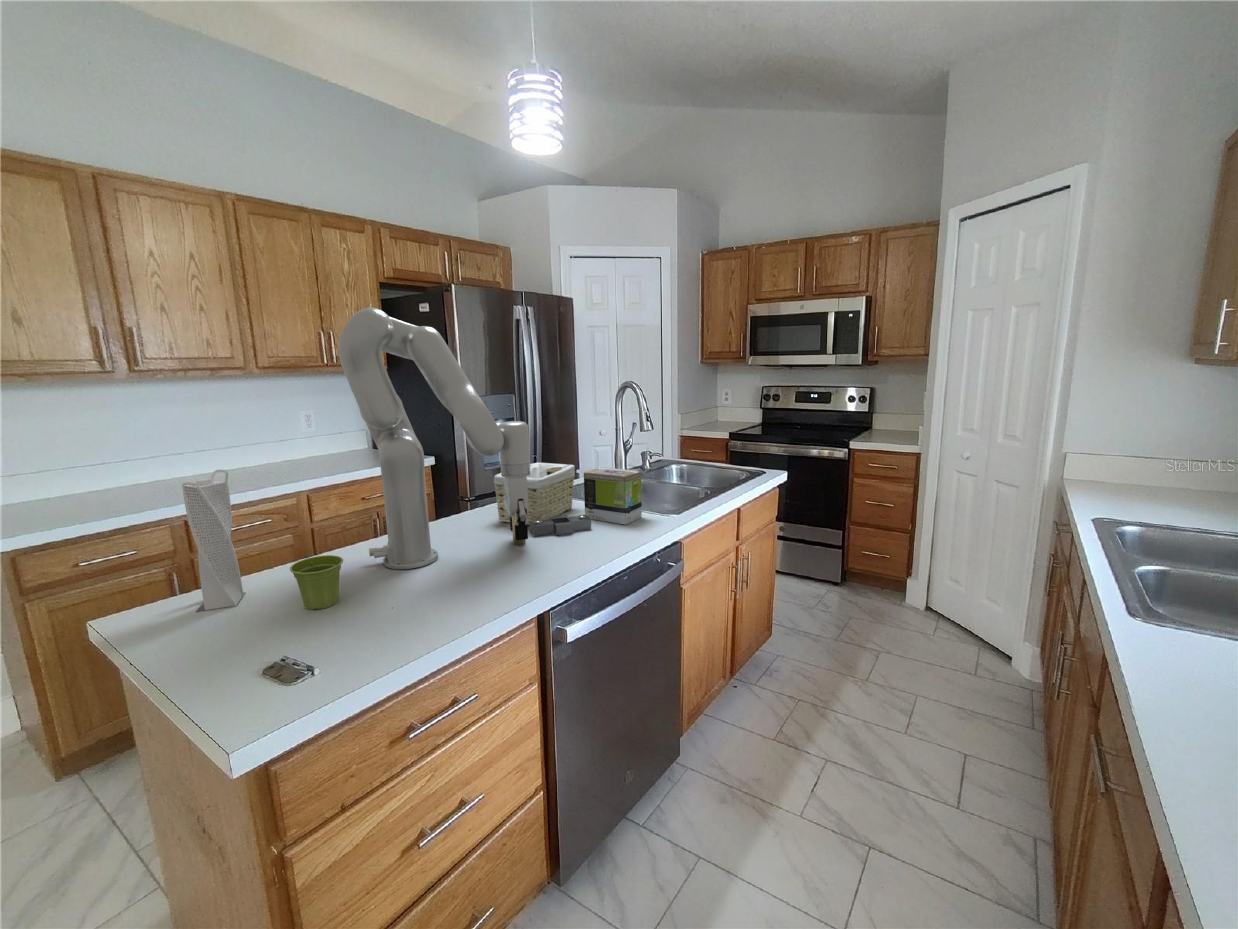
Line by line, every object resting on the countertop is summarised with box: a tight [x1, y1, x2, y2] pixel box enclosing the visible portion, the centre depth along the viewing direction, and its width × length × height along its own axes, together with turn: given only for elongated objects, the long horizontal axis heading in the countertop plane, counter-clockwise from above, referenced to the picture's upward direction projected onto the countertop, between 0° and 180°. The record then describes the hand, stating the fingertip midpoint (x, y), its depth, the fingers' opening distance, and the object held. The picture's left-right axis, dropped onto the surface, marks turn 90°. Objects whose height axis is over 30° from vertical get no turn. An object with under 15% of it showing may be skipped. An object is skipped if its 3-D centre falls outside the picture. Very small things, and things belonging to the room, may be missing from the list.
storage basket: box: [493, 462, 576, 526], centre depth 171 cm, size 24×16×15 cm
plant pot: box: [289, 554, 344, 611], centre depth 112 cm, size 9×9×9 cm
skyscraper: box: [181, 469, 246, 613], centre depth 111 cm, size 8×8×28 cm
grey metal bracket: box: [529, 514, 592, 537], centre depth 157 cm, size 17×9×4 cm, turn 110°
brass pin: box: [512, 514, 527, 547], centre depth 146 cm, size 3×3×8 cm
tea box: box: [583, 466, 643, 525], centre depth 167 cm, size 15×10×15 cm, turn 58°
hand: (519, 534), depth 146 cm, fingers open, 6 cm apart
